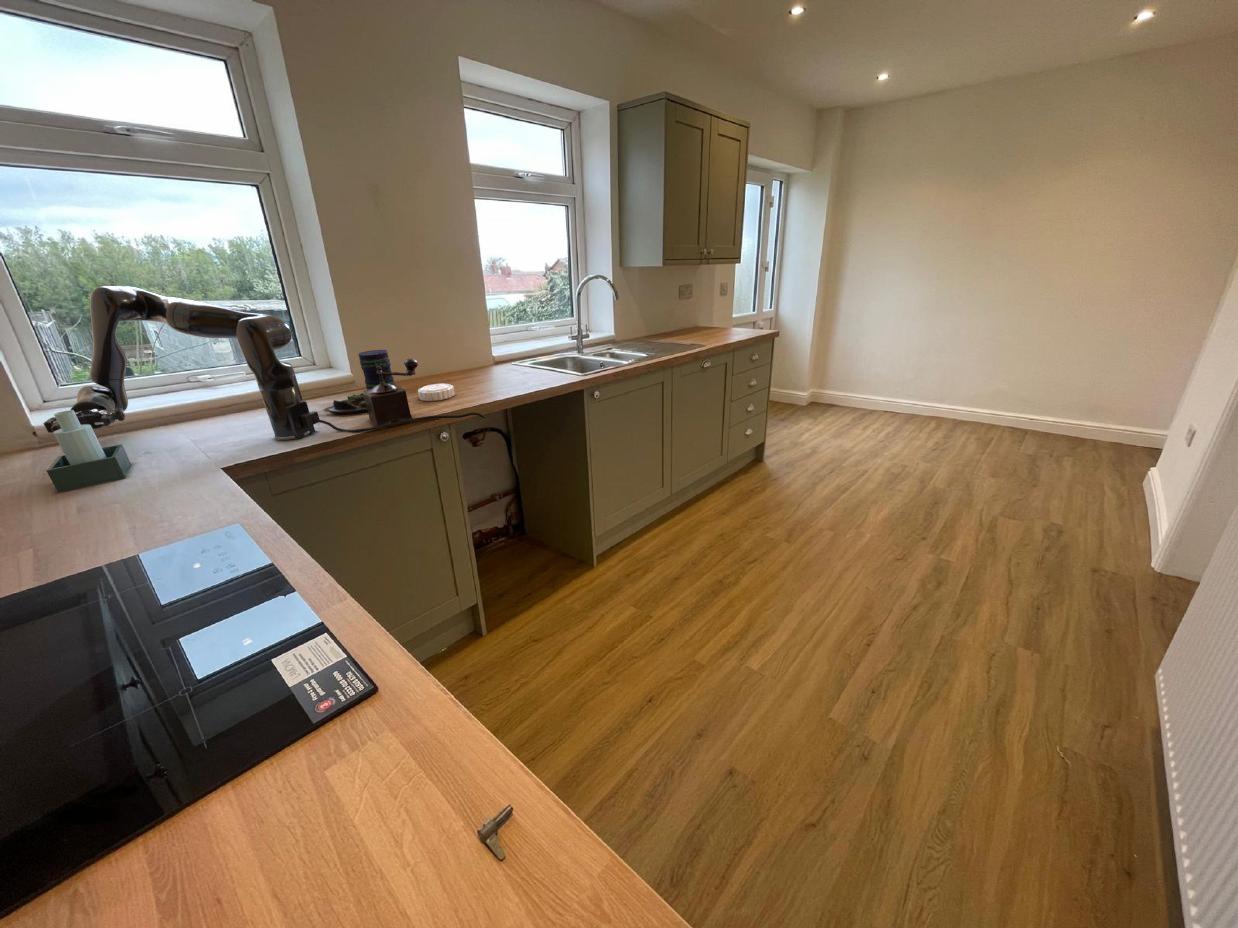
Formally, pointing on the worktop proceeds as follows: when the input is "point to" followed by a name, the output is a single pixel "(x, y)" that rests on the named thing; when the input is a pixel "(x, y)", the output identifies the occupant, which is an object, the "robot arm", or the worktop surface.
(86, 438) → the bottle
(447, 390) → the mooncake
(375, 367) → the storage jar
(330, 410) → the salad plate
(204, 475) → the worktop surface
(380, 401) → the manual coffee grinder
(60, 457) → the dark green open box
